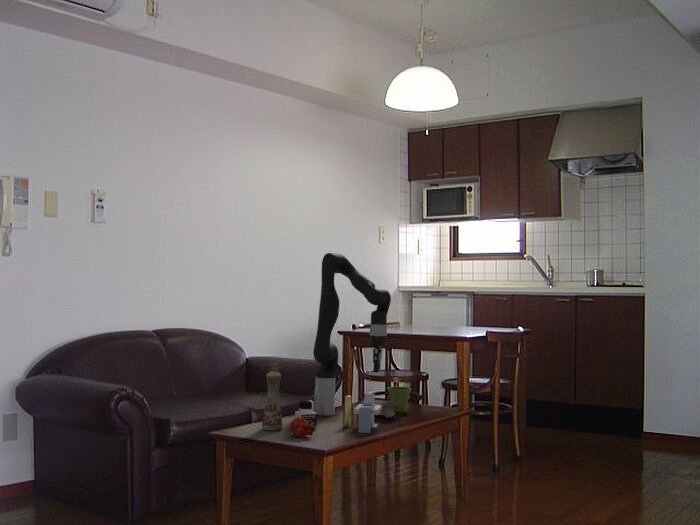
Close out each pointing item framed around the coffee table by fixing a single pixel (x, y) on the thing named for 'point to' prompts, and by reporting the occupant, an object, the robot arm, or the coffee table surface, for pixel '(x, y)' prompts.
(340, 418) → the coffee table surface
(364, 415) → the bracket
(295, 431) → the dragon fruit
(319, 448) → the coffee table surface
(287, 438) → the coffee table surface
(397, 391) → the plant pot
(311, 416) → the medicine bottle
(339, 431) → the coffee table surface
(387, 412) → the white slotted block
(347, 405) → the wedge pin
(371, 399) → the grey piece
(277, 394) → the bottle
